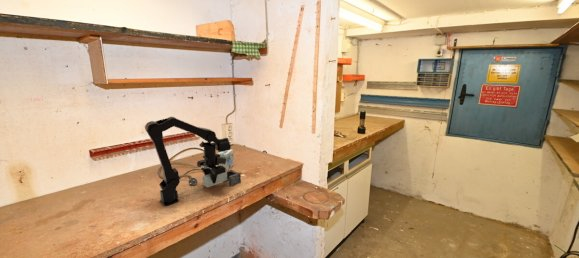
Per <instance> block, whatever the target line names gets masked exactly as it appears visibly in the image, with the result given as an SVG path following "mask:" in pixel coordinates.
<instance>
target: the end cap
mask: <svg viewBox="0 0 579 258" xmlns="http://www.w3.org/2000/svg"><path fill="white" fill-rule="evenodd" d="M226 171H227V180H226V181H224V182H222V183H224V184H225V183H227V182H229V187H233V186H236V185H238V184H241V183H242V181H241V180H242V179H241V173H240V172H237V171H235V170H233V169H228V170H226Z"/></svg>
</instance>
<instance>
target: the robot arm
mask: <svg viewBox="0 0 579 258" xmlns="http://www.w3.org/2000/svg"><path fill="white" fill-rule="evenodd" d="M173 127H175V128H176V129H181V130H182V131H186V132H187V133H190V134H193V135H196V137H197V136H198V137H199V138H201V139H202V140H204V141H205V142H204V141H201V142H200V144H199V145H198V146H199V147H200V148H203V155H202V159H200V160H197V162H196V167H198V168H200V170H201V171H202V172H203V173H202V174H204V176H205V175H208V174H209V175H210V177H211V179H212V182H213V183H215V182H216V179H217V176H218V175H219V174H222V173H225V172H226V171H227V170H226V168H225V167H223V166H221V165H220V166H218V165H219V164H225V163H226V158H224V157H221V156H220V155H219V154H217V153H219V152H223V151H228V150H230V149H231V148H232V147H231V146H232V145H231V142H230V141H229V138H228V137H224V138H218V137H217V135H216V132H215V131H213V130H211V129H209V128H207V127H206V128H205V127H200V126H199V127H198V126H195V125H193V124H190V123H189V122H186V121H183V120H182V119H178V118H177V117H175V116H169V117H167V118H162V119H159V120H156V121H154V120H152V121H151V120H150V121H148V122H147V123H146V124H145V125H144V130H145V132H146V133H147V135H148V136H149V138H150V140H151V141H152V143H153V146H154V149H155V151H156V154H157V157H158V159H159V162H160V165H161V167H162V177H163V179H162V181H161V182H160V183H159V187H160V189H161V190H160V191H159V193H160V194H159V195H160V201H159V203H161V204H162V205H164V206H165V207H168V206H170V205H173V204H175V203H177V202H179V193H178V190H177V187H178V186H179V184H180V182H181V181H180V180H181V177H180V175H179V171H178V169H177V168H176V167H173V166H172V163H171V161H170V158H169V155H168V152H167V150H166V146H165V143H164V140H163V139H164V135H163V134H164V133H163V132H166V131H167V130H169V129H171V128H173ZM216 151H218V152H217V153H216Z"/></svg>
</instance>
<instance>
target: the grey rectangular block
mask: <svg viewBox="0 0 579 258" xmlns="http://www.w3.org/2000/svg"><path fill="white" fill-rule="evenodd" d="M227 171H228V170H226V172H225V173H222V174H219V175H218V176H217V179H216V182H215V183H213V182H212V179H211V177H210V175H209V174H208V175H205V174H204V175H202V184H203V185H202V186H205V187H206V188H210V187H212V186H215V185H218V184H220V183H223V182H224V181H226V180H227Z"/></svg>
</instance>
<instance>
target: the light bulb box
mask: <svg viewBox="0 0 579 258" xmlns="http://www.w3.org/2000/svg"><path fill="white" fill-rule="evenodd" d="M216 154H219V155H220V156H221V157H224V158H226V163H225V164H219V165H217V166H220V165H221V166H223V167H225V168H226V171H229V170H231V168H232V167H233V166H234V165H235V161H234V159H235V157H234V149H231V148H230V150H228V151H223V152H217V153H216Z"/></svg>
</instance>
